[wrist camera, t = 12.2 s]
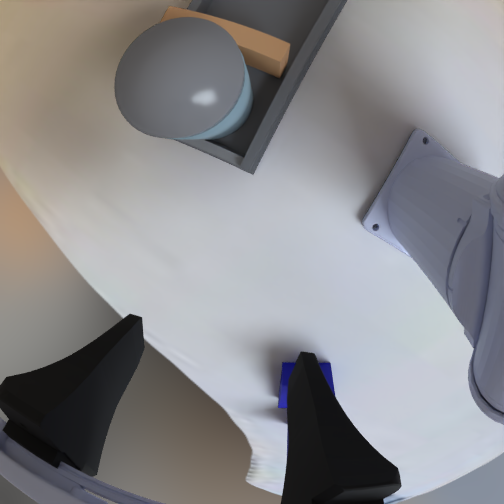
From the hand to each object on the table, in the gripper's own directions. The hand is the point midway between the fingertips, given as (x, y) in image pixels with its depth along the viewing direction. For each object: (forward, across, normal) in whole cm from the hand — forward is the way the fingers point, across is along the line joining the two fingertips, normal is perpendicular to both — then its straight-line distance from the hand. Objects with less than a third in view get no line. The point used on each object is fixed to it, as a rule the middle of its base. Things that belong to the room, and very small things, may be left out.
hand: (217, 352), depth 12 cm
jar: (+8, +4, -10) cm, 14 cm away
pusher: (+9, +3, -14) cm, 16 cm away
